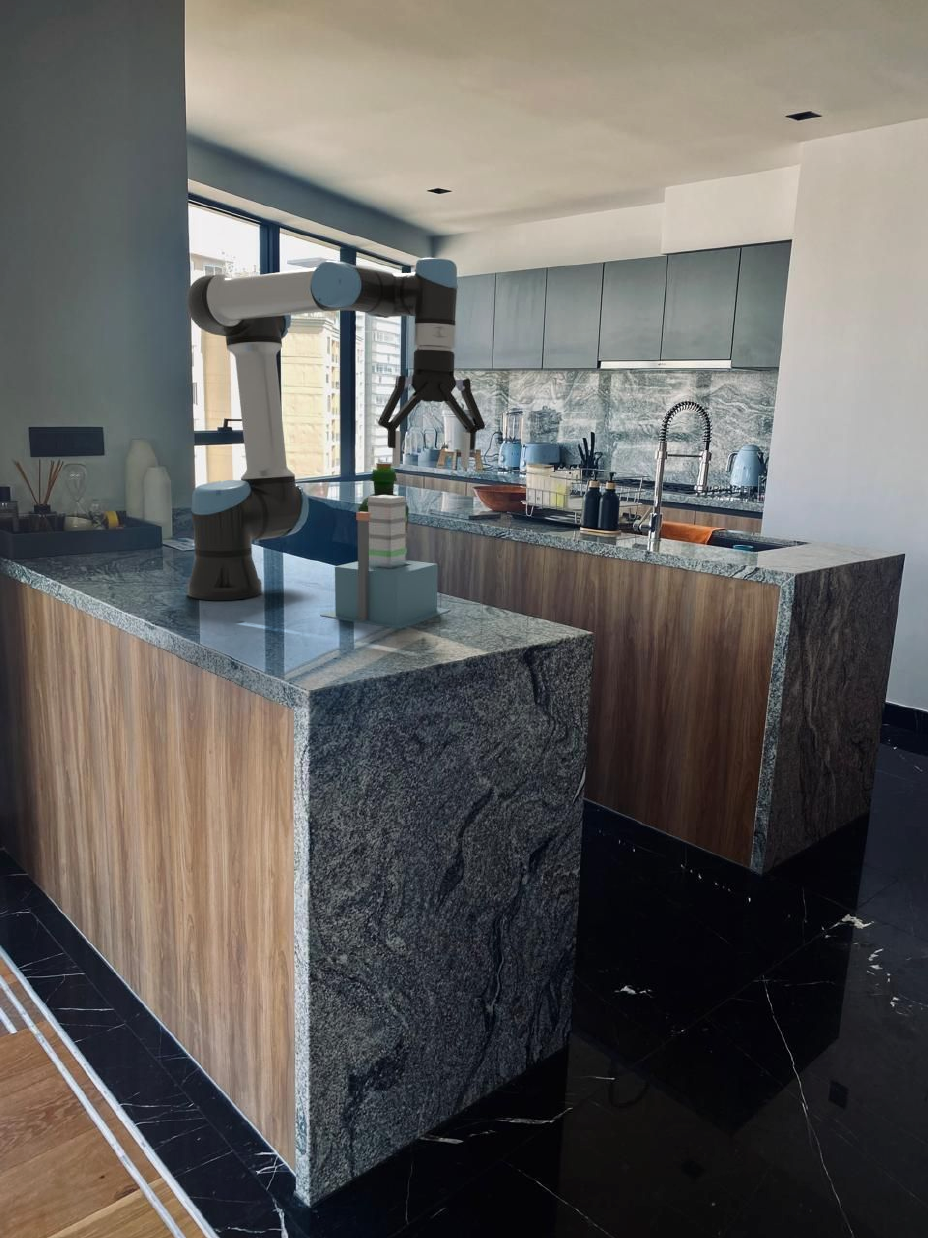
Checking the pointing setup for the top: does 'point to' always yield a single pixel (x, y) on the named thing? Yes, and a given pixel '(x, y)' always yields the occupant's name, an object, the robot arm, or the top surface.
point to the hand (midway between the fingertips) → (430, 466)
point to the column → (387, 531)
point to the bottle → (383, 487)
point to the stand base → (384, 589)
